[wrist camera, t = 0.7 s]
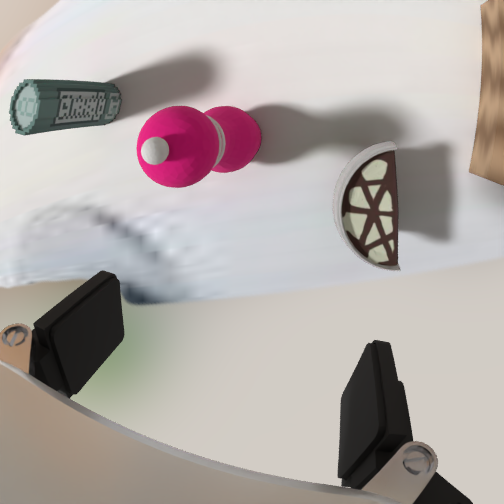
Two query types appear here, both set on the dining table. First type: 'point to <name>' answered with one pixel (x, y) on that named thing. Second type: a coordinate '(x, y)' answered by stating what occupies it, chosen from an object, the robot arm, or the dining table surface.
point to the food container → (369, 206)
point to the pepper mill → (196, 143)
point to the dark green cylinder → (62, 105)
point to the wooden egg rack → (491, 97)
